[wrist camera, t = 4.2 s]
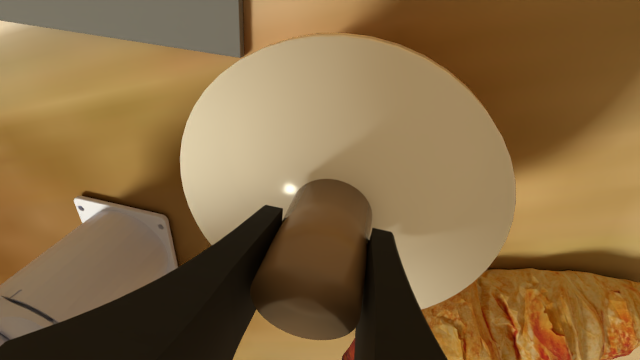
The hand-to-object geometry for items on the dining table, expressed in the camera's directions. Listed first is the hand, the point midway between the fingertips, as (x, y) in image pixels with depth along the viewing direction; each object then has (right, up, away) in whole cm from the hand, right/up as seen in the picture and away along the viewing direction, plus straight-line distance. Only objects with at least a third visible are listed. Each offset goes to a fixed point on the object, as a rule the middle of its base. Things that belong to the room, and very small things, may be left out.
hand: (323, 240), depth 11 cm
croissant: (+11, -8, +13) cm, 19 cm away
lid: (0, +1, +2) cm, 2 cm away
